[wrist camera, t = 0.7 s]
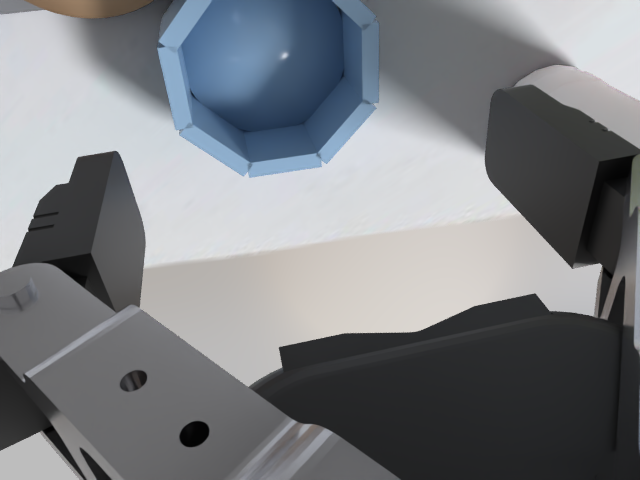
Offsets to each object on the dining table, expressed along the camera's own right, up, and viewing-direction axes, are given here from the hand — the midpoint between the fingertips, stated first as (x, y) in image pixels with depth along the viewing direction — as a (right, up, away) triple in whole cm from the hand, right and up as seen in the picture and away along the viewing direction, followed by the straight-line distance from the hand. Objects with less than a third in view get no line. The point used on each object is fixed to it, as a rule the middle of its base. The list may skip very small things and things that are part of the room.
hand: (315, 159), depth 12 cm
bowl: (-3, +9, +20) cm, 22 cm away
